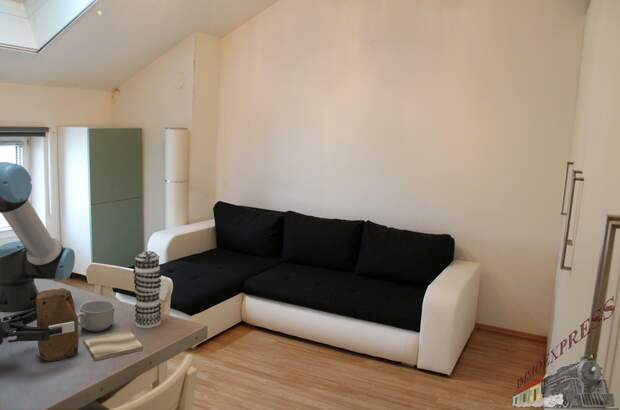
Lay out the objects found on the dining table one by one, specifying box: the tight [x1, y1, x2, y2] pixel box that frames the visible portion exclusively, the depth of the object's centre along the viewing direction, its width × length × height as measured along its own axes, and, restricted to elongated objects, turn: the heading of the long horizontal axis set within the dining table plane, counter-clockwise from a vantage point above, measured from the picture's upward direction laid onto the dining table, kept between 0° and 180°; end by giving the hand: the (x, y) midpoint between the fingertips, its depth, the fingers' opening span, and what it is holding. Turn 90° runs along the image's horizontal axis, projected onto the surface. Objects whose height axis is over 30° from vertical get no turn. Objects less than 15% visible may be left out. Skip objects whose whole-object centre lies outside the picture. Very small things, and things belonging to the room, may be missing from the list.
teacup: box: [76, 299, 116, 332], centre depth 172 cm, size 14×11×8 cm
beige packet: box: [83, 329, 144, 362], centre depth 161 cm, size 14×14×1 cm
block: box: [35, 287, 80, 362], centre depth 153 cm, size 11×8×20 cm
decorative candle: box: [132, 250, 163, 329], centre depth 177 cm, size 9×9×25 cm
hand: (69, 318), depth 154 cm, fingers open, 13 cm apart
